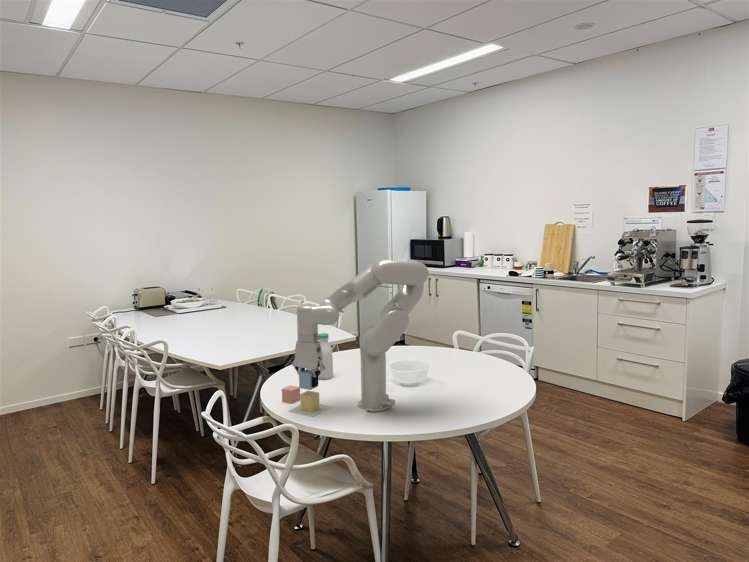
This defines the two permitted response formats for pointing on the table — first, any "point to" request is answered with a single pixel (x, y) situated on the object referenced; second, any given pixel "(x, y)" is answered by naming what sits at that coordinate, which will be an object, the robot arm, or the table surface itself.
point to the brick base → (309, 401)
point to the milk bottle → (326, 357)
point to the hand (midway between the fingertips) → (308, 385)
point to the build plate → (312, 414)
